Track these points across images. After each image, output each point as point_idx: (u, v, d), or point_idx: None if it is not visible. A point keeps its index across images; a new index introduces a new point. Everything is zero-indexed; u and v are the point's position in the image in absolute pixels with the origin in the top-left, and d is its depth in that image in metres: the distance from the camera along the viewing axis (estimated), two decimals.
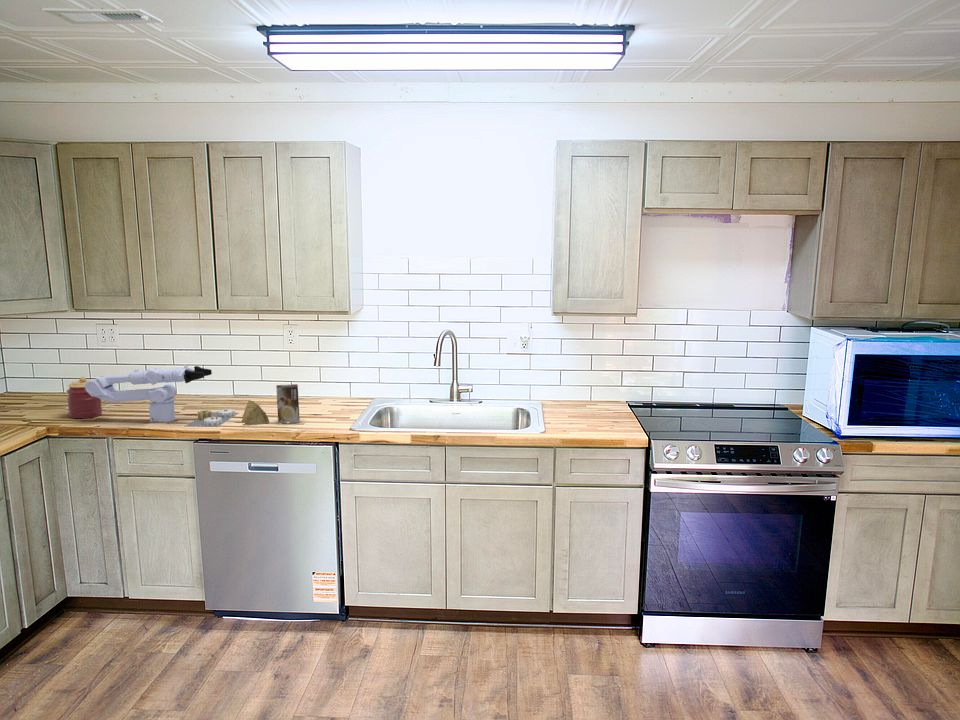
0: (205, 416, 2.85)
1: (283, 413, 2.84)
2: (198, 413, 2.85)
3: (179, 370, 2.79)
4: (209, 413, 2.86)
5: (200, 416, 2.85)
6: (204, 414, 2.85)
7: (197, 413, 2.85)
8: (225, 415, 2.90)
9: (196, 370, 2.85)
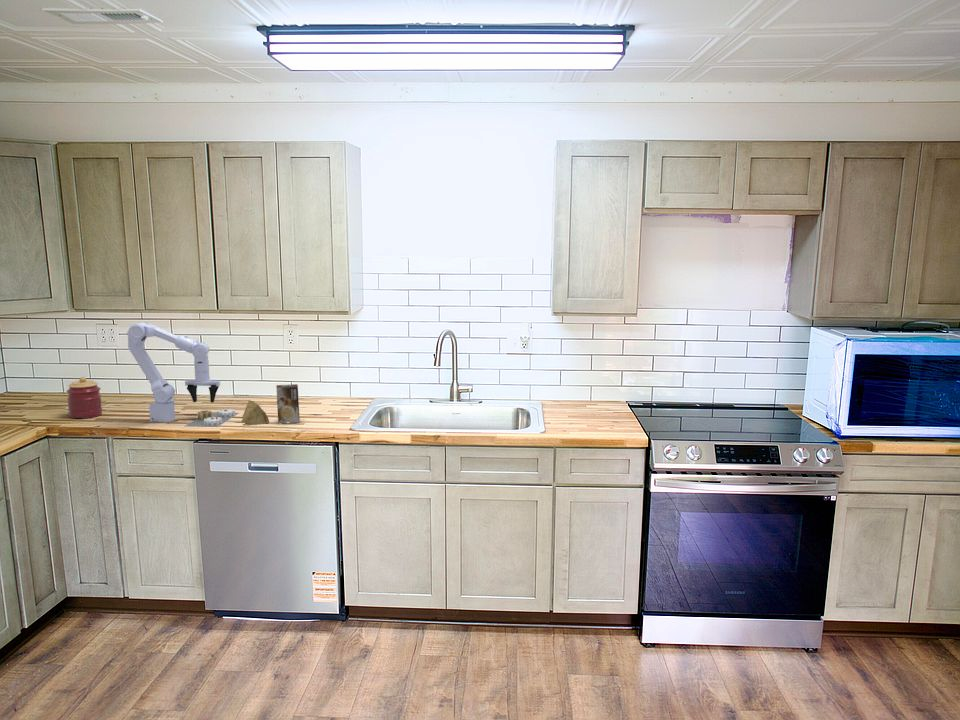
0: (205, 416, 2.85)
1: (283, 413, 2.84)
2: (198, 413, 2.85)
3: None
4: (209, 413, 2.86)
5: (200, 416, 2.85)
6: (204, 414, 2.85)
7: (197, 413, 2.85)
8: (225, 415, 2.90)
9: (195, 387, 2.86)
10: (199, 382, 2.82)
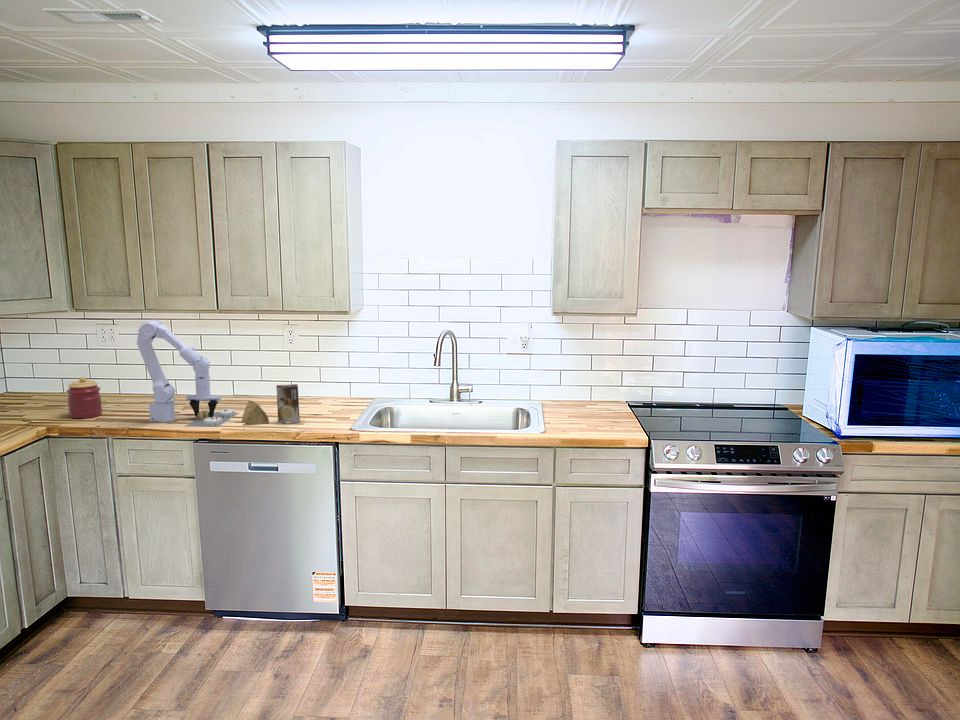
0: (205, 416, 2.85)
1: (283, 413, 2.84)
2: (198, 413, 2.85)
3: None
4: None
5: (200, 416, 2.85)
6: (204, 414, 2.85)
7: (197, 413, 2.85)
8: (225, 415, 2.90)
9: (198, 402, 2.87)
10: (200, 397, 2.83)
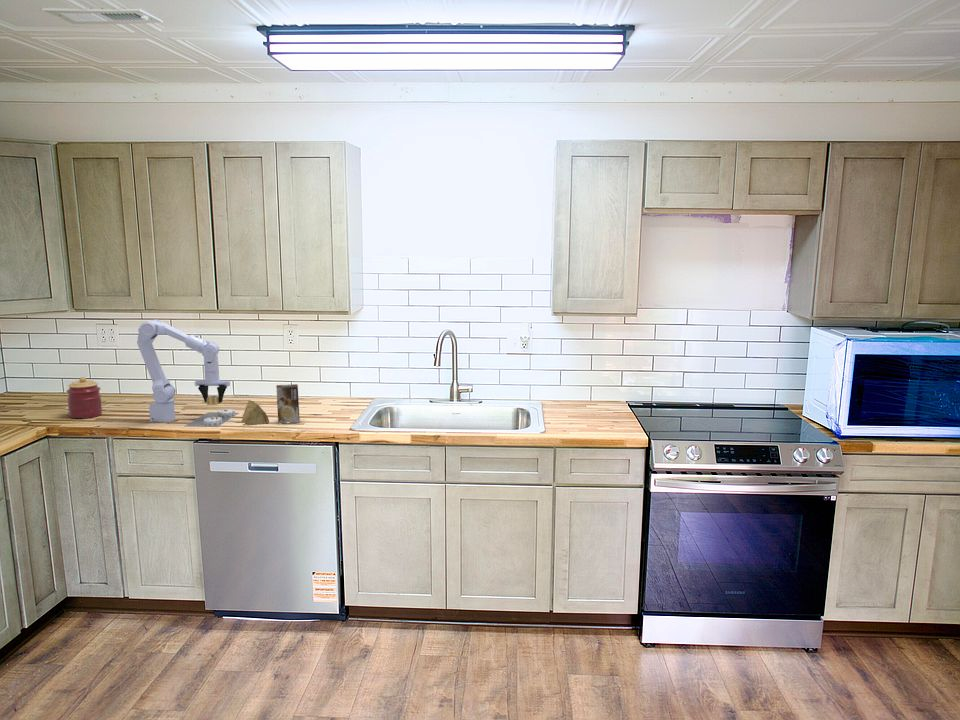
0: (214, 401, 2.83)
1: (283, 413, 2.84)
2: (207, 398, 2.83)
3: None
4: (218, 398, 2.85)
5: (209, 401, 2.83)
6: (213, 399, 2.83)
7: (206, 398, 2.84)
8: (225, 415, 2.90)
9: (206, 387, 2.86)
10: (209, 382, 2.81)
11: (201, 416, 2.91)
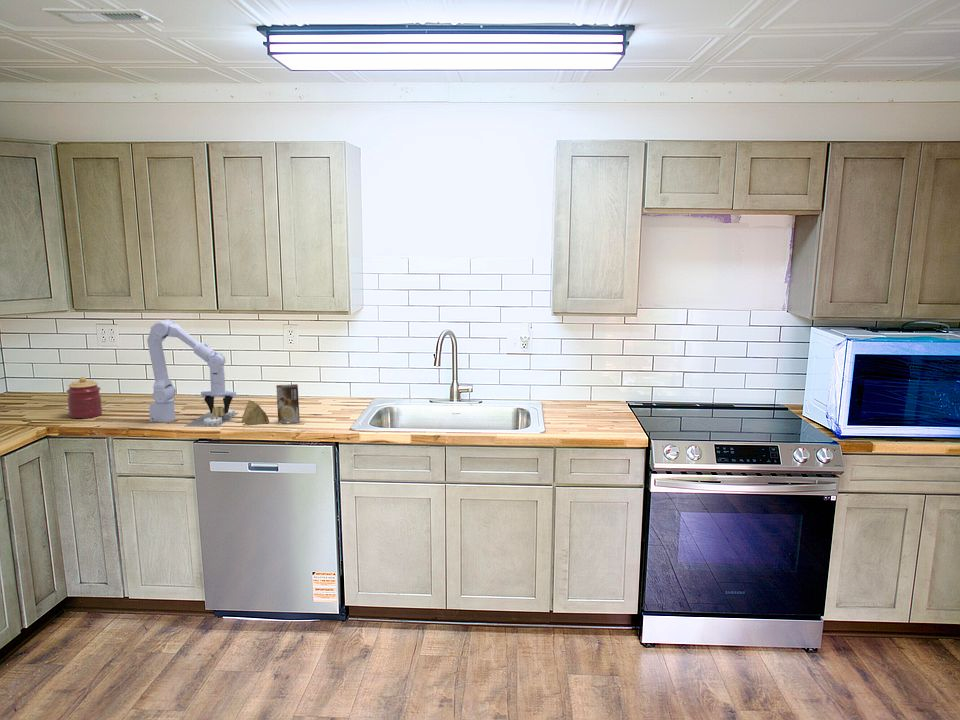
0: (220, 412, 2.84)
1: (283, 413, 2.84)
2: (213, 409, 2.83)
3: None
4: None
5: (215, 412, 2.83)
6: (219, 410, 2.84)
7: (212, 409, 2.84)
8: (225, 415, 2.90)
9: (212, 398, 2.86)
10: (215, 393, 2.81)
11: (201, 416, 2.91)
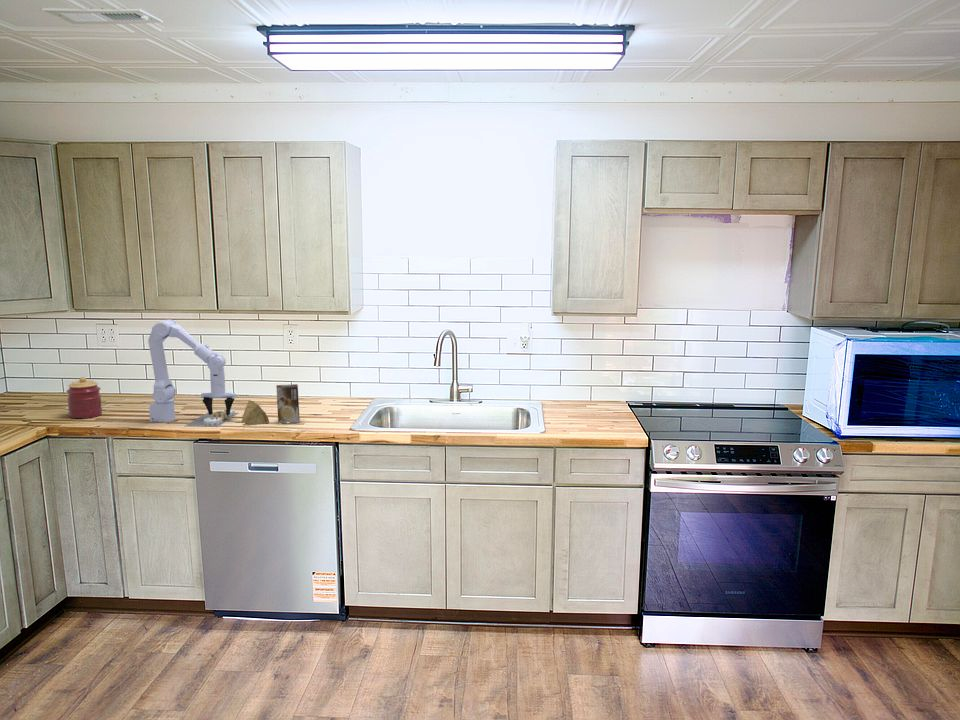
0: (220, 417, 2.84)
1: (283, 413, 2.84)
2: (213, 414, 2.84)
3: None
4: (224, 414, 2.85)
5: None
6: (219, 415, 2.84)
7: None
8: None
9: (211, 399, 2.86)
10: (215, 395, 2.82)
11: (201, 416, 2.91)
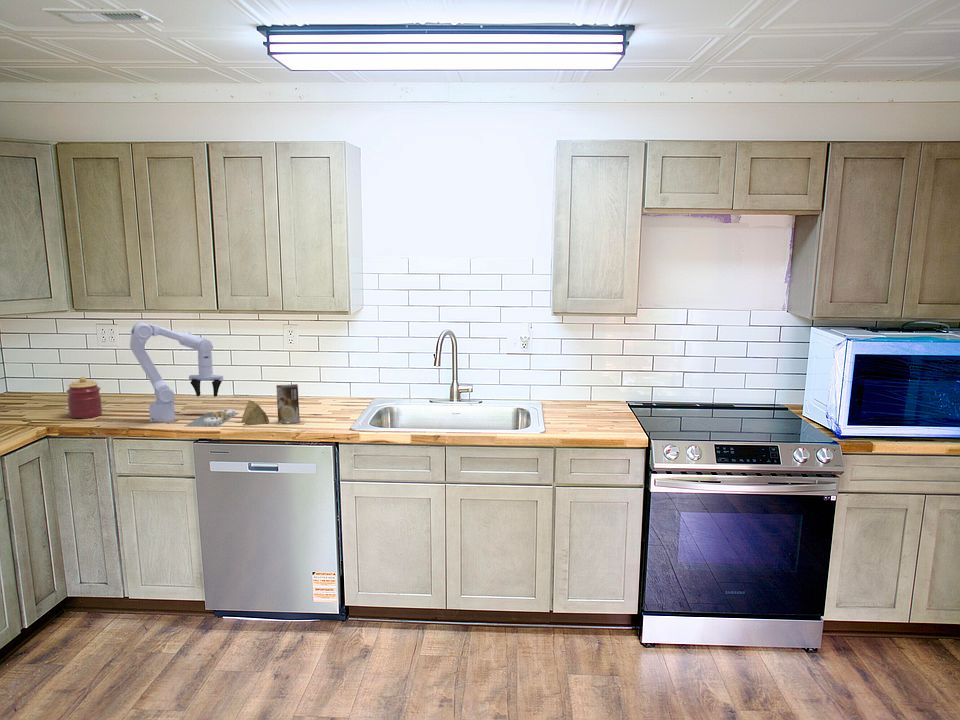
0: (220, 417, 2.84)
1: (283, 413, 2.84)
2: (213, 414, 2.84)
3: None
4: (224, 414, 2.85)
5: None
6: (219, 415, 2.84)
7: None
8: None
9: (199, 381, 2.93)
10: (202, 377, 2.89)
11: (201, 416, 2.91)
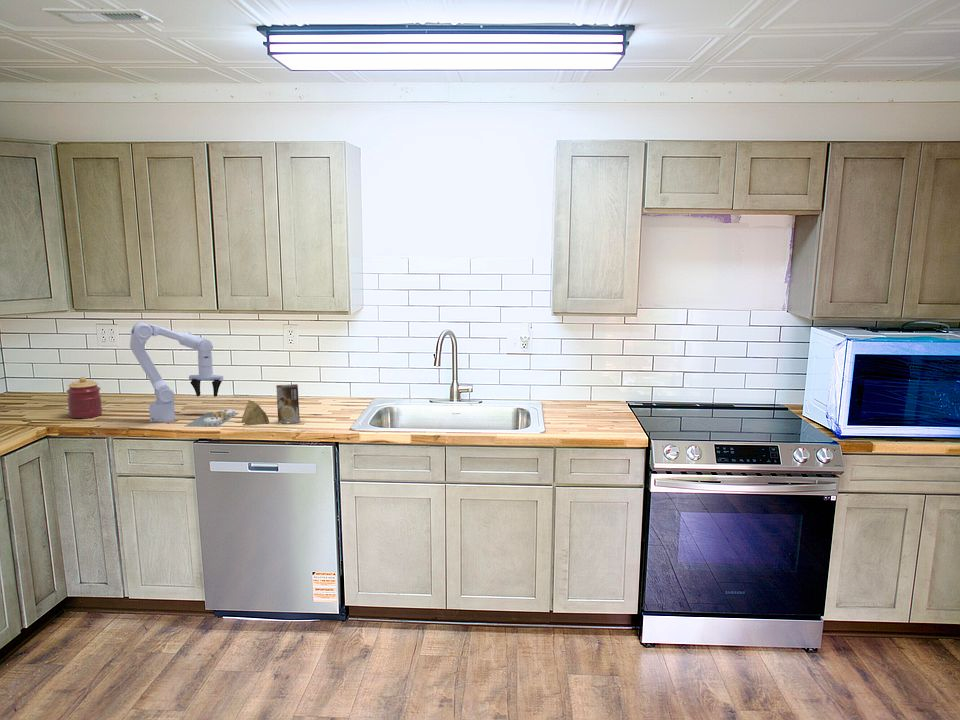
0: (220, 417, 2.84)
1: (283, 413, 2.84)
2: (213, 414, 2.84)
3: None
4: (224, 414, 2.85)
5: None
6: (219, 415, 2.84)
7: None
8: None
9: (199, 381, 2.93)
10: (202, 377, 2.89)
11: (201, 416, 2.91)
